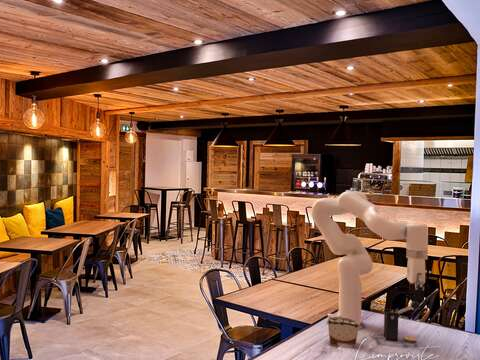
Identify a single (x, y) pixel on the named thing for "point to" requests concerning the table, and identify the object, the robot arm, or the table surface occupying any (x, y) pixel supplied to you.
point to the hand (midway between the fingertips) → (416, 297)
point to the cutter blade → (409, 307)
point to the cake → (409, 339)
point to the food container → (342, 330)
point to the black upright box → (390, 325)
